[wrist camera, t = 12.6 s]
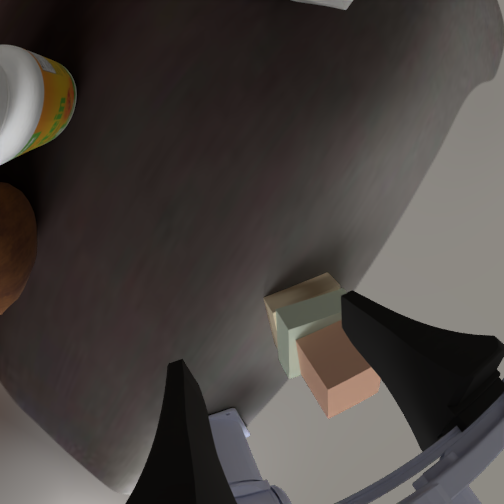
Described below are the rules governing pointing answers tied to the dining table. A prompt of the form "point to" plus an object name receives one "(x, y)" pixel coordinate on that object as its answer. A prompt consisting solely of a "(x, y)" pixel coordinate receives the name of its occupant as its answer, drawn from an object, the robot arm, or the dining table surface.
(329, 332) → the terracotta block
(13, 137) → the supplement bottle
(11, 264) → the wooden figurine
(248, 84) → the dining table surface
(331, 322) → the tower top block
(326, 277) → the tower base block
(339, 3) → the die
